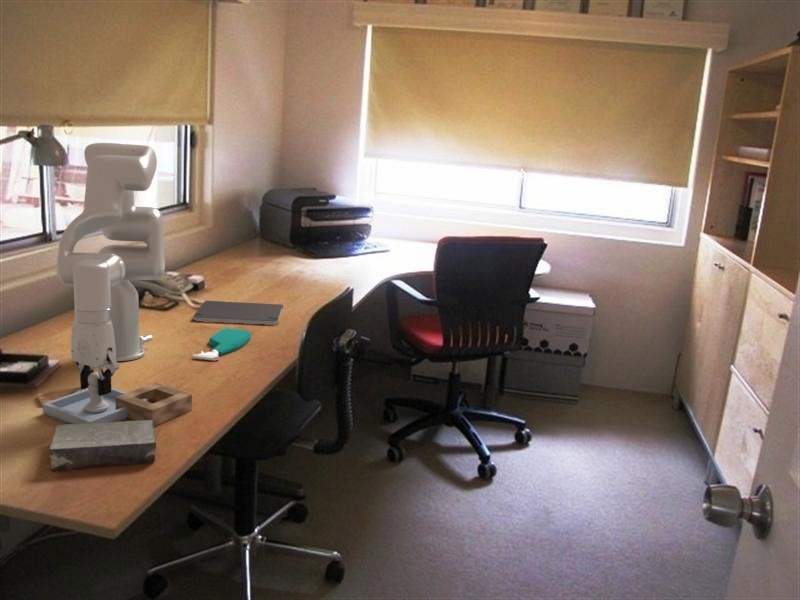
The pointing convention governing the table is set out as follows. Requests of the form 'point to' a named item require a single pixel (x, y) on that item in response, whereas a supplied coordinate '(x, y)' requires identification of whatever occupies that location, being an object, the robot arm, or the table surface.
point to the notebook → (239, 312)
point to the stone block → (102, 445)
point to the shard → (56, 394)
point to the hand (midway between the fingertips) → (96, 389)
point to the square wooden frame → (155, 403)
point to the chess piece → (95, 396)
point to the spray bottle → (225, 343)
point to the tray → (74, 412)
